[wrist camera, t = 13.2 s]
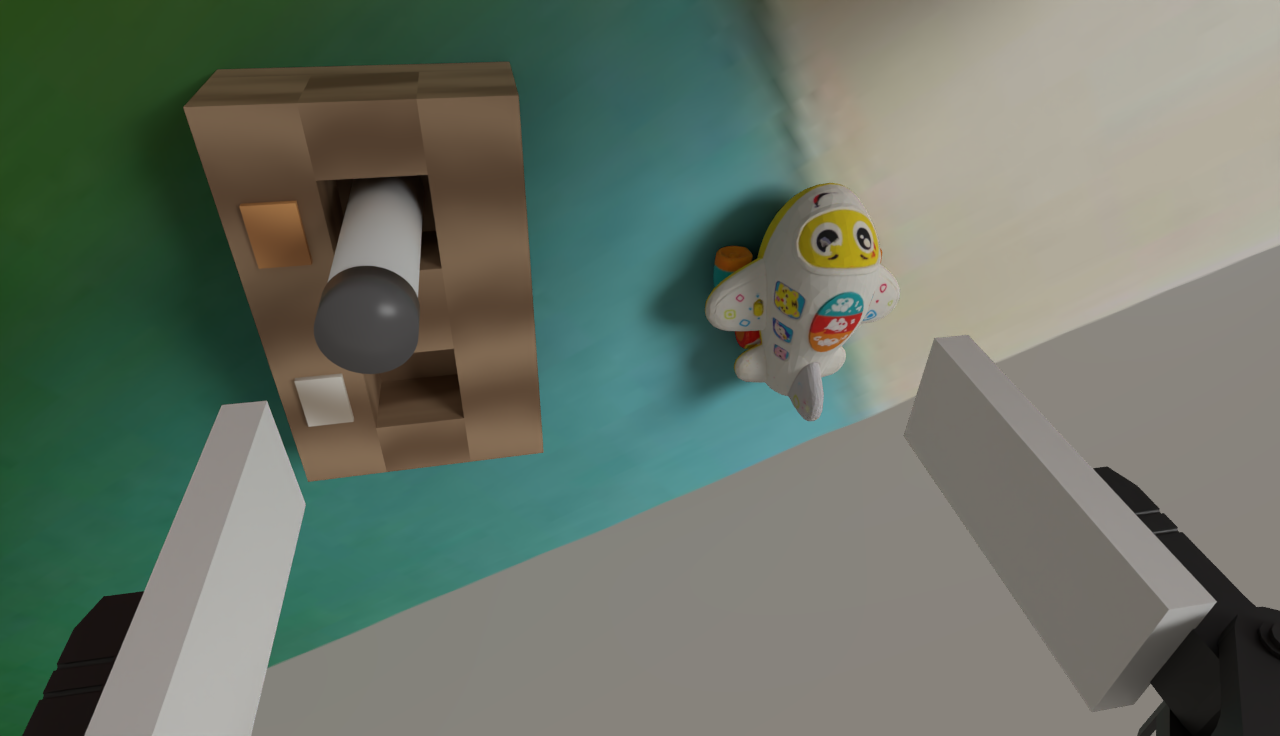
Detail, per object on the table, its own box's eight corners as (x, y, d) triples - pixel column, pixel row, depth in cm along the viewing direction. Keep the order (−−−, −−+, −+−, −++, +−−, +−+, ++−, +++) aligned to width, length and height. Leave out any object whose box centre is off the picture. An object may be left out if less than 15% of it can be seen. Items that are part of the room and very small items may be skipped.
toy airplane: (715, 448, 47) (754, 238, 37) (680, 361, 53) (704, 164, 44) (904, 425, 49) (984, 225, 40) (848, 345, 56) (905, 157, 46)
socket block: (217, 69, 36) (181, 109, 31) (509, 61, 38) (519, 97, 33) (321, 417, 49) (307, 485, 44) (534, 394, 51) (543, 455, 46)
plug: (343, 157, 38) (302, 295, 27) (420, 153, 39) (410, 287, 28) (358, 225, 40) (326, 378, 29) (430, 220, 41) (425, 368, 30)
